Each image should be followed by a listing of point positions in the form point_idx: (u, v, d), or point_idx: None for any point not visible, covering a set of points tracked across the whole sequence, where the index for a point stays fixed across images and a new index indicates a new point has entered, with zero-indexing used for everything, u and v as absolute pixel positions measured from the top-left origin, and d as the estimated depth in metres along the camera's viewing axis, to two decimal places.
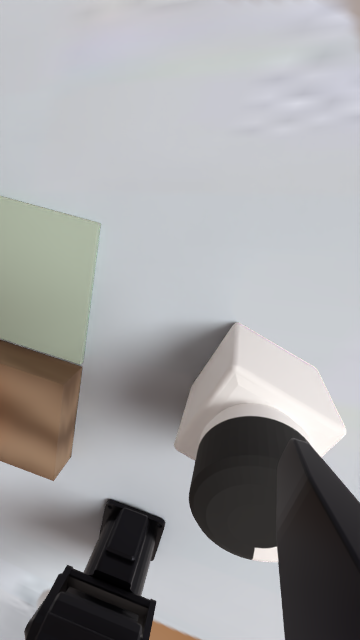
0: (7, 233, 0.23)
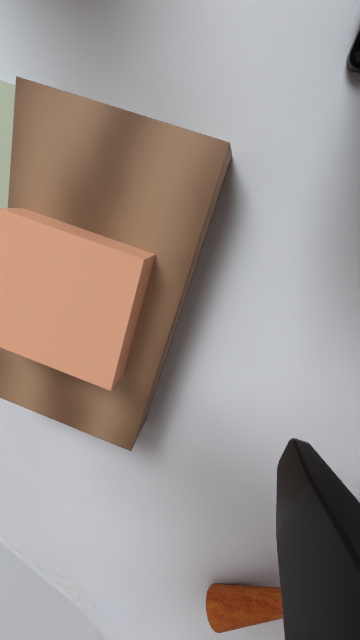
0: None
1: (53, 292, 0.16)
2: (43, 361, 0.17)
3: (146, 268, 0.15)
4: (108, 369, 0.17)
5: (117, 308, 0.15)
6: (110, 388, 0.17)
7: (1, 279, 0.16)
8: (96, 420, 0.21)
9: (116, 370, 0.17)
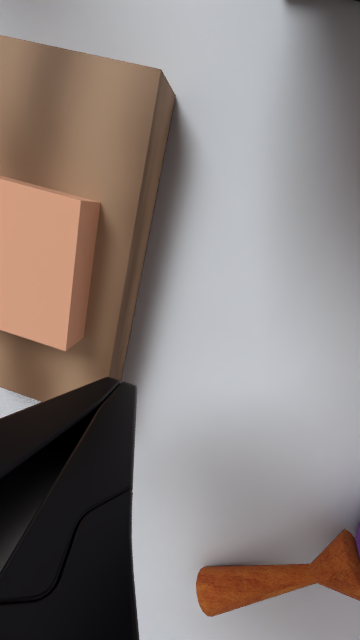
0: None
1: None
2: None
3: (88, 214, 0.14)
4: (60, 327, 0.16)
5: (60, 258, 0.14)
6: (65, 348, 0.16)
7: None
8: (62, 391, 0.20)
9: (68, 328, 0.16)
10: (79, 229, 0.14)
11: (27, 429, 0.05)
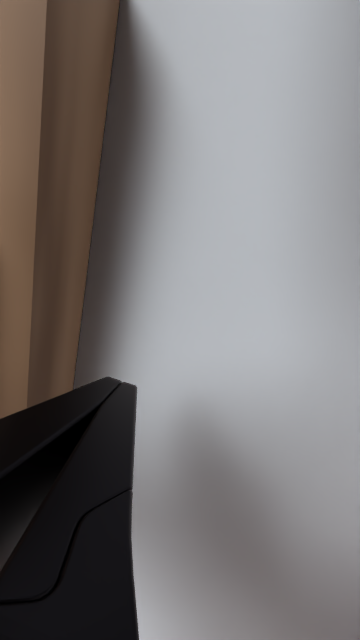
0: None
1: None
2: None
3: None
4: None
5: None
6: None
7: None
8: None
9: None
10: None
11: (27, 429, 0.05)
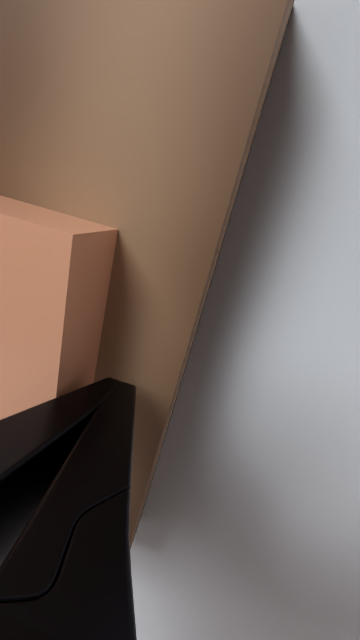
0: None
1: None
2: None
3: (92, 261, 0.06)
4: None
5: (27, 362, 0.06)
6: None
7: None
8: None
9: None
10: (69, 301, 0.06)
11: (29, 430, 0.05)
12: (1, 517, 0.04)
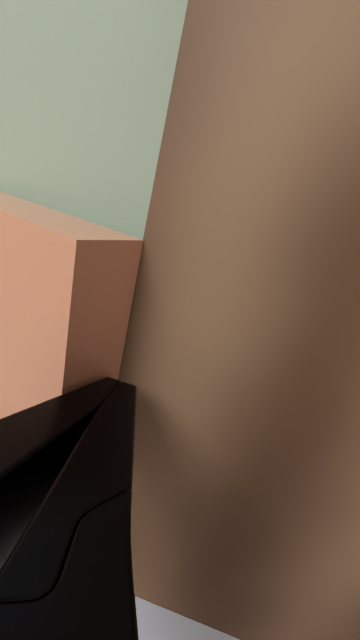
0: None
1: None
2: None
3: (106, 268, 0.06)
4: None
5: (41, 359, 0.07)
6: None
7: None
8: (282, 632, 0.11)
9: None
10: (76, 305, 0.06)
11: (28, 429, 0.05)
12: (0, 516, 0.04)
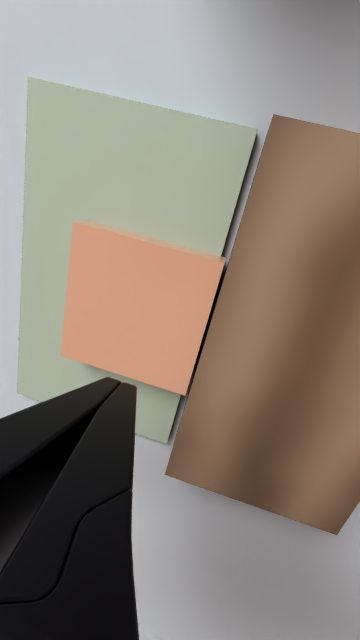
0: (61, 231, 0.17)
1: (129, 301, 0.16)
2: (116, 370, 0.17)
3: None
4: (184, 374, 0.17)
5: (195, 313, 0.15)
6: (185, 393, 0.17)
7: (75, 291, 0.16)
8: (296, 501, 0.18)
9: None
10: None
11: (27, 429, 0.05)
12: None
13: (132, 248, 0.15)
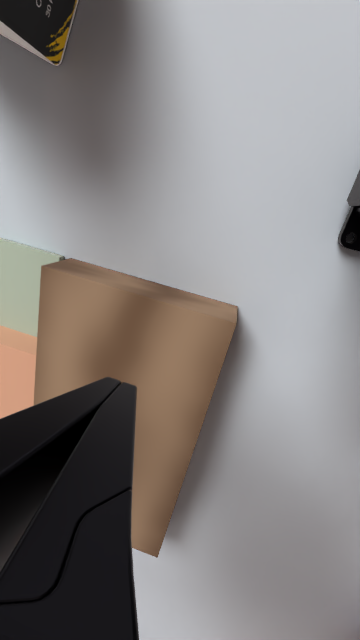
0: None
1: None
2: None
3: None
4: None
5: (26, 389, 0.20)
6: None
7: None
8: None
9: None
10: None
11: (27, 429, 0.05)
12: None
13: None
